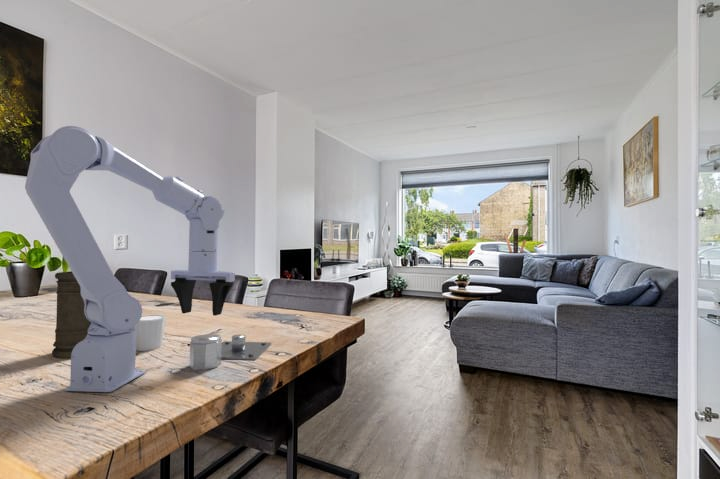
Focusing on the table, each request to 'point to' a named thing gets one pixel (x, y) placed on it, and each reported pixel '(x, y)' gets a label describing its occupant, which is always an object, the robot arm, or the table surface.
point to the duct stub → (242, 348)
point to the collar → (205, 351)
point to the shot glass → (150, 332)
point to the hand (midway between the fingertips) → (201, 313)
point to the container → (69, 316)
